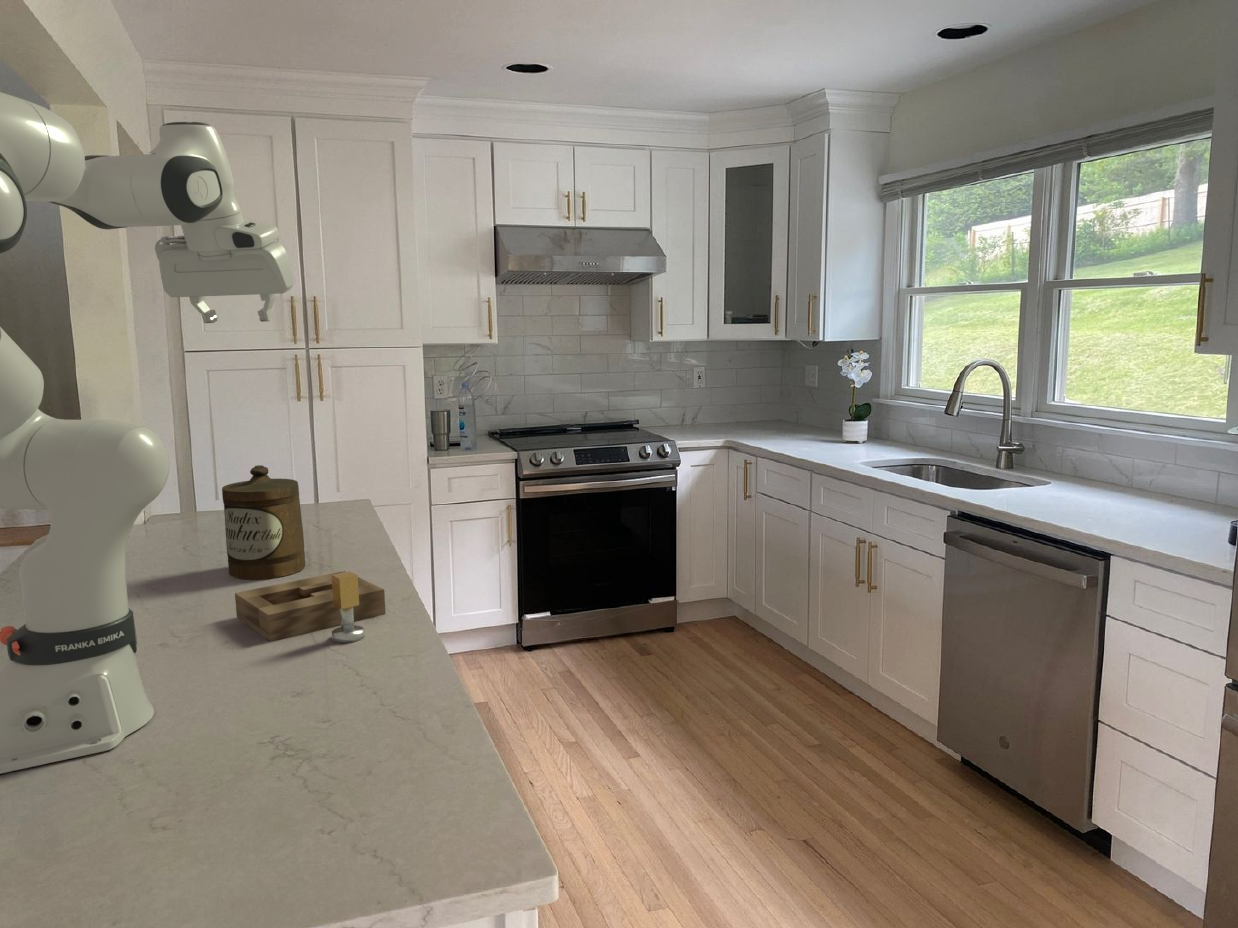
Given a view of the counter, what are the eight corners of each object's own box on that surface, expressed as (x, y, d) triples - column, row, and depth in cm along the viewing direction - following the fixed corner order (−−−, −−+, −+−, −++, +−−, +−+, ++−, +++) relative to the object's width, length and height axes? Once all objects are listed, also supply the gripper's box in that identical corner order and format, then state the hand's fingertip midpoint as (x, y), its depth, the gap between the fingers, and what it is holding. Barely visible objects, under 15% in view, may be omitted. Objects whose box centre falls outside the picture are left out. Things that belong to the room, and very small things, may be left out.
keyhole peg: (340, 645, 139) (336, 581, 137) (327, 637, 143) (322, 574, 141) (369, 637, 142) (366, 575, 141) (356, 630, 146) (352, 568, 144)
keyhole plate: (270, 641, 141) (268, 614, 140) (236, 617, 153) (234, 592, 152) (385, 613, 154) (384, 589, 153) (346, 593, 166) (345, 570, 165)
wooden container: (212, 578, 178) (203, 470, 174) (259, 559, 192) (251, 459, 188) (277, 582, 174) (269, 472, 171) (319, 562, 188) (312, 461, 185)
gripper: (140, 241, 133) (167, 329, 139) (269, 236, 130) (290, 325, 137) (163, 232, 138) (187, 317, 144) (287, 227, 136) (307, 313, 142)
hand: (238, 321), depth 141 cm, fingers open, 8 cm apart
